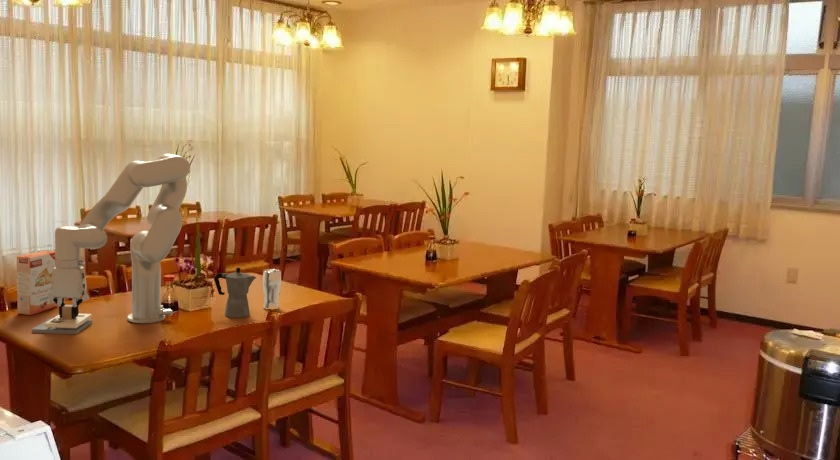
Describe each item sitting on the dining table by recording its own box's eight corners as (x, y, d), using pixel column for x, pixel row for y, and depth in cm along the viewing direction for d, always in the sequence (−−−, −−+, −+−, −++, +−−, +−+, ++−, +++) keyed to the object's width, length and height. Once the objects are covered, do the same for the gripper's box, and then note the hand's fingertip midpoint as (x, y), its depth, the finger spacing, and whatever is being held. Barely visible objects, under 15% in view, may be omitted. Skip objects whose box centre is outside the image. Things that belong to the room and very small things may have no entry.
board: (92, 323, 244) (92, 319, 244) (76, 334, 232) (76, 330, 231) (50, 321, 243) (50, 318, 243) (32, 332, 231) (32, 329, 230)
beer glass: (258, 308, 275) (259, 271, 272) (268, 305, 281) (269, 268, 279) (273, 311, 272) (274, 273, 270) (283, 307, 278) (284, 270, 276)
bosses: (72, 320, 242) (71, 312, 242) (59, 328, 233) (59, 320, 232) (64, 320, 242) (64, 312, 242) (51, 328, 232) (51, 320, 232)
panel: (91, 317, 244) (91, 301, 243) (76, 328, 231) (75, 311, 230) (61, 316, 243) (61, 300, 243) (44, 326, 231) (44, 310, 230)
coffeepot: (257, 312, 270) (258, 266, 267) (252, 319, 260) (253, 271, 258) (216, 310, 269) (217, 264, 267) (210, 317, 260) (210, 269, 257)
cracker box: (31, 316, 249) (30, 257, 246) (16, 314, 250) (15, 256, 247) (59, 306, 262) (58, 251, 259) (45, 305, 263) (43, 249, 260)
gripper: (97, 262, 239) (98, 315, 241) (47, 260, 238) (48, 313, 240) (89, 267, 231) (89, 321, 234) (37, 264, 230) (38, 319, 233)
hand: (68, 317), depth 237 cm, fingers closed on panel, 3 cm apart
